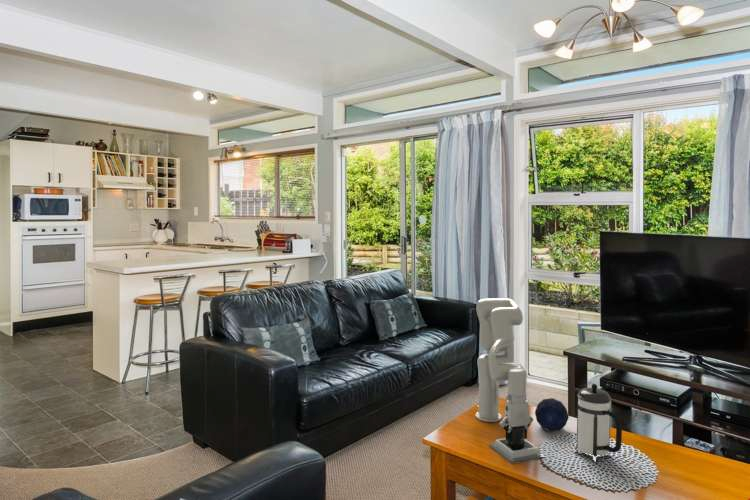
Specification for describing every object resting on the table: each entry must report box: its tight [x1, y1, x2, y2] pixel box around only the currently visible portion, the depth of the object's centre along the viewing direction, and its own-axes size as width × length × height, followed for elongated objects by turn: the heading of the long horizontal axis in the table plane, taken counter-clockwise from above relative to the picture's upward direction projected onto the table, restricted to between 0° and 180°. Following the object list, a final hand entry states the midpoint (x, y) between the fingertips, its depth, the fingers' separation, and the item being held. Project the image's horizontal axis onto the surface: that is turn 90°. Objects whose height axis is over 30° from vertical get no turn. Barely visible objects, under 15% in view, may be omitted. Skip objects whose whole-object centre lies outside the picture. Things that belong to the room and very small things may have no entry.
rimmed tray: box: [488, 437, 541, 465], centre depth 210 cm, size 16×16×4 cm
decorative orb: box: [534, 397, 570, 432], centre depth 233 cm, size 14×15×15 cm
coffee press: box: [575, 383, 623, 456], centre depth 206 cm, size 17×16×30 cm
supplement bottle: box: [508, 426, 525, 450], centre depth 210 cm, size 7×7×12 cm
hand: (516, 439), depth 210 cm, fingers closed on supplement bottle, 6 cm apart
